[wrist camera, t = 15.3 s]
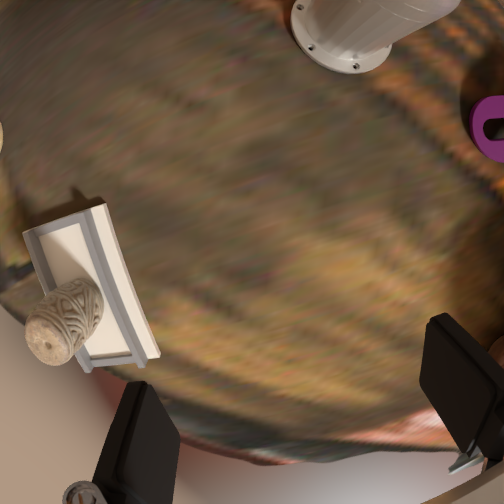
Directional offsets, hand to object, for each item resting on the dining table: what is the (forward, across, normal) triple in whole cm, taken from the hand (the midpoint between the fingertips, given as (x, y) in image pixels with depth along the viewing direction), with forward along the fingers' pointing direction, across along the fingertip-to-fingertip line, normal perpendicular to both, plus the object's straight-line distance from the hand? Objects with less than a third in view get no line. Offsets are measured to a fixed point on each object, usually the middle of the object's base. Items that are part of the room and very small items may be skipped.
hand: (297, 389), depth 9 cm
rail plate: (+28, +24, +6) cm, 38 cm away
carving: (+28, +24, +6) cm, 37 cm away
